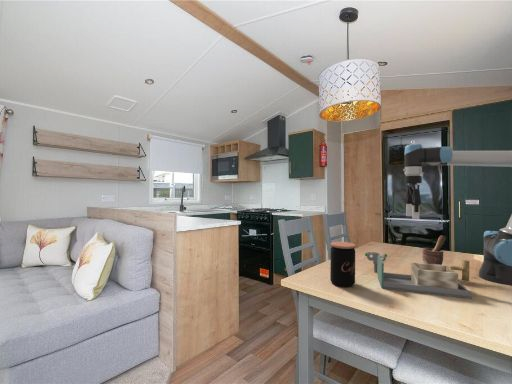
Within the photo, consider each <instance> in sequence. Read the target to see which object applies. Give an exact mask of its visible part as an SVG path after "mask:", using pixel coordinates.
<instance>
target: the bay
mask: <svg viewBox="0 0 512 384" xmlns="http://www.w3.org/2000/svg"><path fill="white" fill-rule="evenodd" d="M380 256H381V254H379V255H378V266H377V279H378V282H379V285H380V287H381V289H383V290H384V289H385V290H393V291H394V290H395V291H402V292H410V293H419V294H425V295H426V294H427V295H436V296H437V295H438V296H445V297H452V298H460V299H461V298H462V299H469V300H472V297H473V296H472V295H473V293H472V290H469V289H468V288H466V287H465V286H464V285H462V284H461V283H460V281H458V289H450V288H441V287H431V286H422V285H414V283H413V282H412V280H411V274H406V273H405V274H404V273H397V272H396V273H395V272H386V271H385V270H384V269H385V268H384V266H385V265H384V261H382V259H383V258H381V257H380Z"/></svg>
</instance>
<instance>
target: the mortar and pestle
mask: <svg viewBox="0 0 512 384" xmlns="http://www.w3.org/2000/svg"><path fill="white" fill-rule="evenodd" d="M446 240H447V237H446V235H442V234H441V235H440V236H439V237H438V239H437V242H436V244H435V246H434V248H433V247H422V254H421V255H422V261H423V263H424V264H436V265H443V261H444V250H442V249H441V248H442V246H443V245H444V244H445V243H446V242H445V241H446Z"/></svg>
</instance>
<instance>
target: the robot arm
mask: <svg viewBox="0 0 512 384" xmlns="http://www.w3.org/2000/svg"><path fill="white" fill-rule="evenodd" d="M403 159H404V168H403V169H402V171H403V172H404V181H403V183H404V184H408V185H406V196H405V201H404V202H405V204H406V205H405V206H406V209H405V210H406V213H405V214H406V215H405V216H406V217H412V219H413V220H420V211H421V210H420V209H421V208H420V206H421V204H422V201H421V200H422V199H421V194H420V193H421V191H420V184H421V183H422V181H423V180H422V179H423V177H422V173H423V164H428V165H429V166H433V167H434V166H435V167H436V166H463V167H465V166H467V167H502V168H504V167H505V168H506V167H507V168H508V167H509V168H512V150H453V148H452V147H451V146H436V147H423V145H422V144H421V143H414V144H413V143H412V144H407V145H405V148H404V158H403ZM480 265H481V266H480V268H479V269H478V276H479V278H481V279H483V280H486V281H490V282H493V283H498V284H504V285H511V284H512V214H510V218H509V219H508V222H507V224H506V226H505V227H503V228H500V229H499V230H498V231H497V230H496V231H495V230H485V231H484V232H483V261H482V264H480Z"/></svg>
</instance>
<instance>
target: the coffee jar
mask: <svg viewBox="0 0 512 384" xmlns="http://www.w3.org/2000/svg"><path fill="white" fill-rule="evenodd" d="M330 246H331V247H330V270H329V271H330V278H329V279H330V282H331V284H332V285H334V286H336V287H338V288H339V287H340V288H352V287H354V285H355V284H356V250H355V248H356V244H355V243H352V242H349V241H333V242H330Z"/></svg>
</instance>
